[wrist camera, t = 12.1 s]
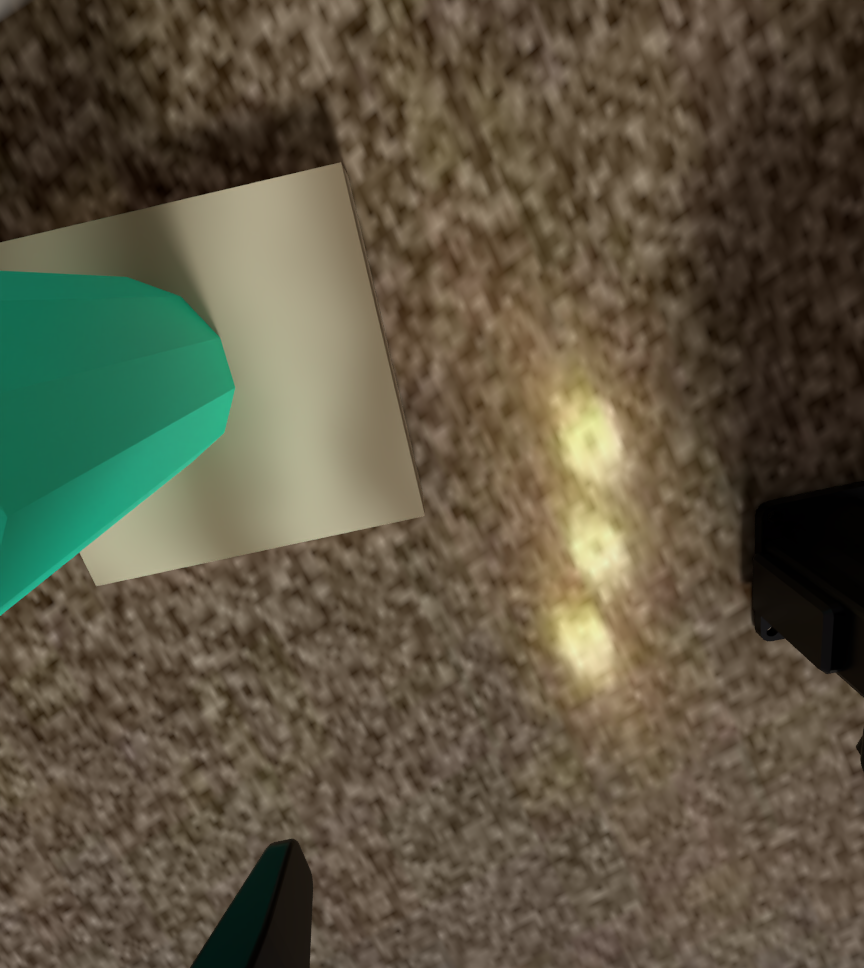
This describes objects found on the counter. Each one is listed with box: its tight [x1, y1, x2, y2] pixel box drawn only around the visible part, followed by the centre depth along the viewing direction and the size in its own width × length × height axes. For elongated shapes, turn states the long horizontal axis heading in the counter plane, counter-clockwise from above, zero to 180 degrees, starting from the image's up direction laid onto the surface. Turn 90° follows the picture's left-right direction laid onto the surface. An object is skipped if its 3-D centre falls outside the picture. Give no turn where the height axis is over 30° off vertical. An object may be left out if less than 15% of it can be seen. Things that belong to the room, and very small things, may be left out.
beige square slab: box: [0, 162, 425, 586], centre depth 18 cm, size 12×11×2 cm
